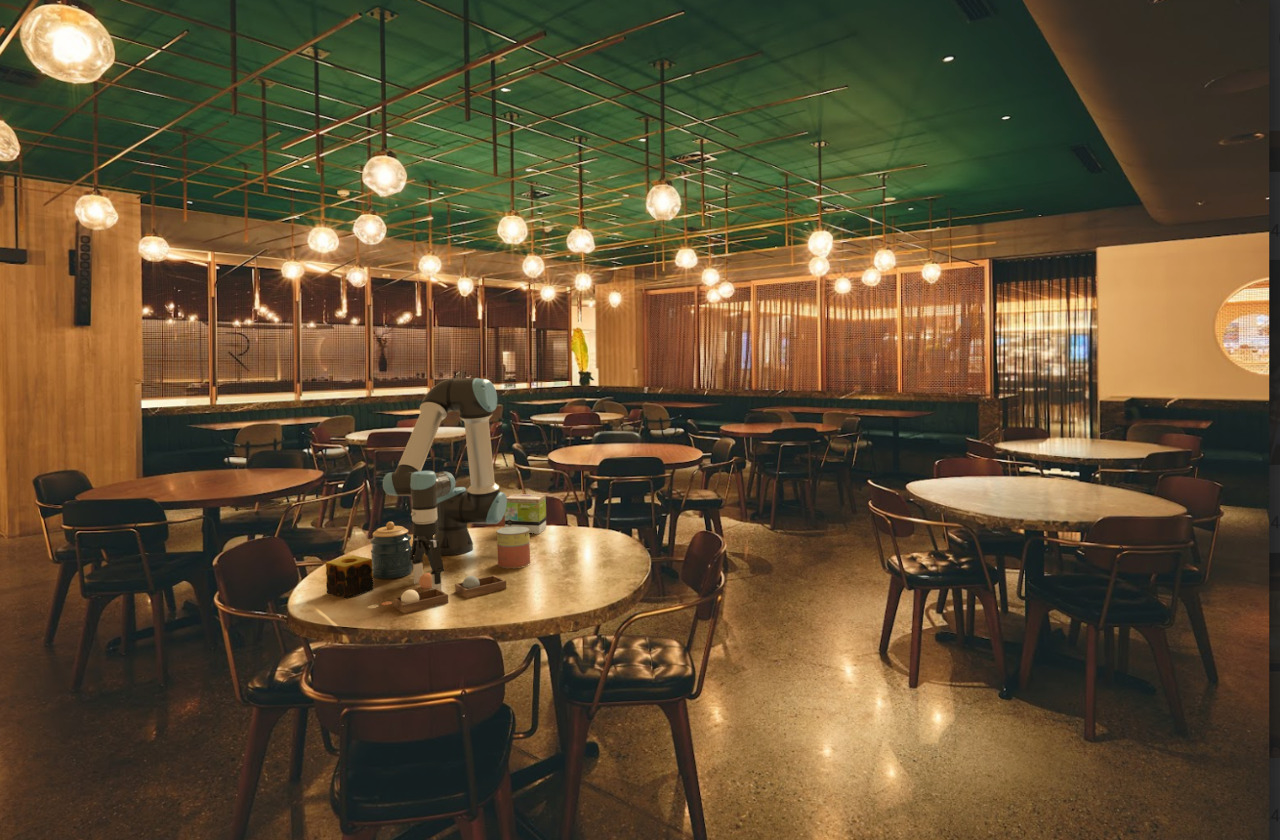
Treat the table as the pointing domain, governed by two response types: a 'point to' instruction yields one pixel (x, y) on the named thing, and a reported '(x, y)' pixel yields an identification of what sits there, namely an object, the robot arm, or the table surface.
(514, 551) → the canned food
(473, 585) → the ball slate
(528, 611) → the table surface
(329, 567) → the brown block
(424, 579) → the ball terracotta
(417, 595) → the ball cream
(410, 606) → the trough
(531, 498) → the tea box
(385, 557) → the canister
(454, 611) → the table surface
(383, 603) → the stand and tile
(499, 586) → the trough
